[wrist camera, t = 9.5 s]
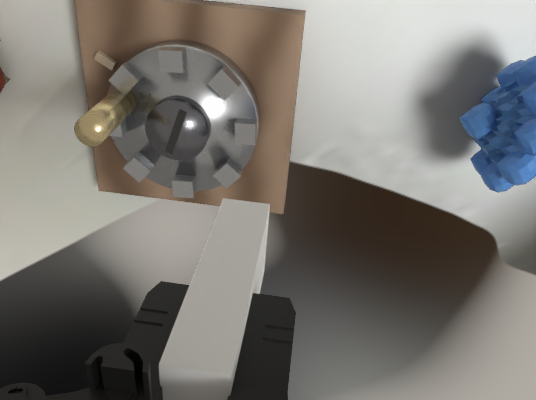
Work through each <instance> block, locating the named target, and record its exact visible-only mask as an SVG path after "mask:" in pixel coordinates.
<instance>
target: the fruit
mask: <svg viewBox="0 0 536 400" xmlns="http://www.w3.org/2000/svg"><path fill="white" fill-rule="evenodd" d="M0 41H1V40H0ZM9 80H10V79H9V78H7V77H6V76H5V75H4V73H3V72H2V70H1V67H0V92H1V91H2V89H3V88H4V86H5V84H6V83H7V82H8V81H9Z"/></svg>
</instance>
